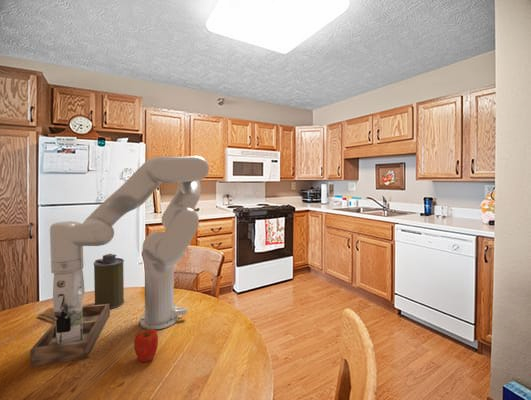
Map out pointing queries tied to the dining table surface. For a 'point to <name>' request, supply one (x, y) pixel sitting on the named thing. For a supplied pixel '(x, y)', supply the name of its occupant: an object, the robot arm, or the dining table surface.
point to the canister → (109, 281)
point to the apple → (146, 345)
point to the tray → (54, 352)
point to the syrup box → (73, 324)
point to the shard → (48, 315)
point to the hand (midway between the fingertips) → (69, 324)
